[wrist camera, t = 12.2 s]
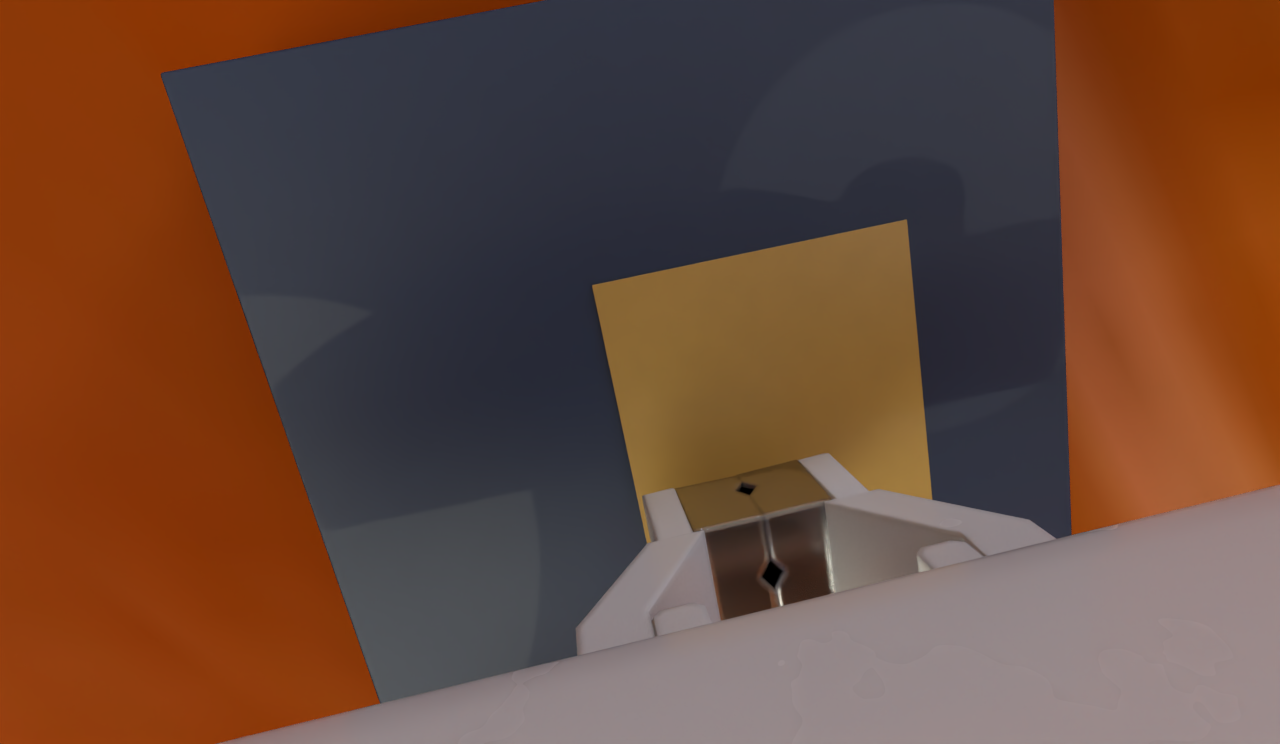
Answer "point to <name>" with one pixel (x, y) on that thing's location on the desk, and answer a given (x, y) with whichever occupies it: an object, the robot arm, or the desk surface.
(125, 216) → the desk surface
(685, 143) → the book cover
